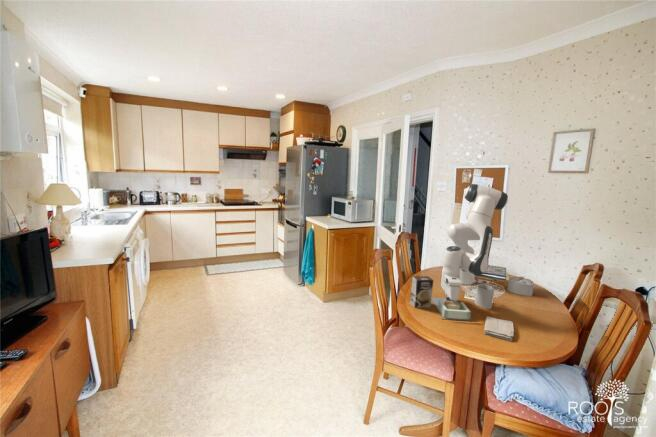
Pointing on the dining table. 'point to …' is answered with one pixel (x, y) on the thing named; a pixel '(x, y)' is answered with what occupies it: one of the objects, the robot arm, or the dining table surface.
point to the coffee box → (421, 291)
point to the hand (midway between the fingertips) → (447, 301)
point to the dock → (450, 313)
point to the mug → (484, 296)
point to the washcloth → (499, 328)
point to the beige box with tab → (451, 304)
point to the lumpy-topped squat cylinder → (521, 286)
